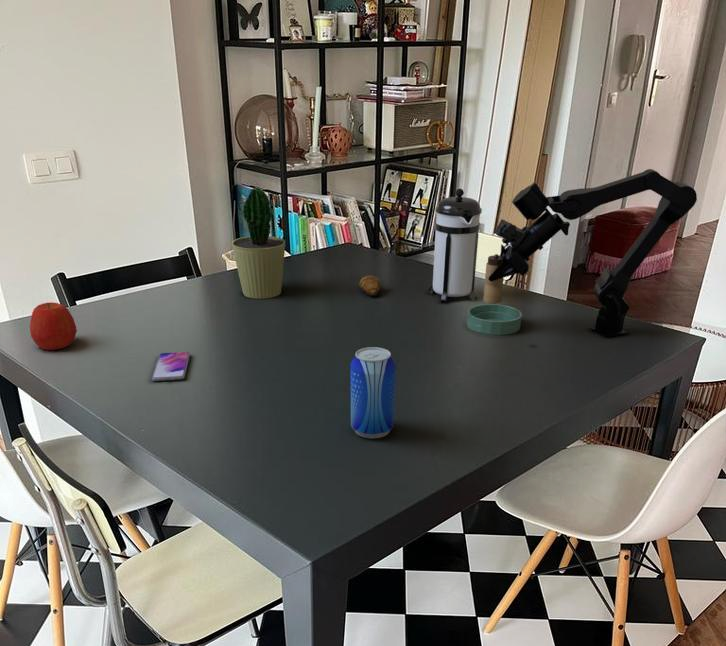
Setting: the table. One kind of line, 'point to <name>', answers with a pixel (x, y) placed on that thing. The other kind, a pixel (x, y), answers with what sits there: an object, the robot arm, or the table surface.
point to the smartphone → (171, 366)
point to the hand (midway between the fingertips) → (488, 277)
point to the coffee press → (456, 246)
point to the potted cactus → (259, 250)
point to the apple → (52, 326)
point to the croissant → (370, 285)
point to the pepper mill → (493, 287)
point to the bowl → (494, 319)
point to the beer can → (372, 392)
